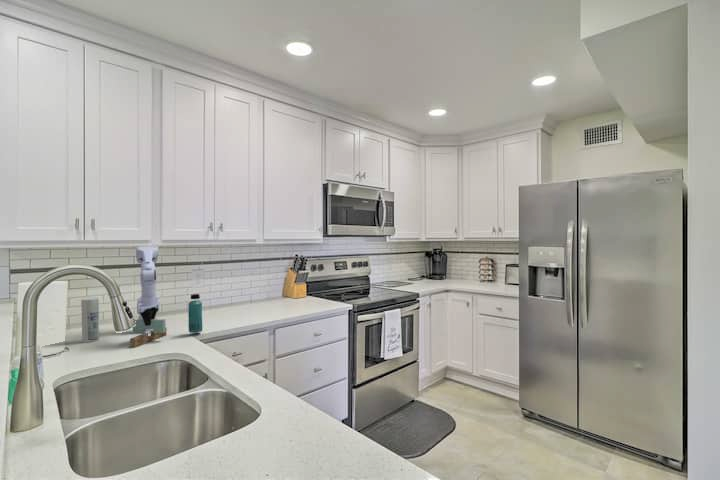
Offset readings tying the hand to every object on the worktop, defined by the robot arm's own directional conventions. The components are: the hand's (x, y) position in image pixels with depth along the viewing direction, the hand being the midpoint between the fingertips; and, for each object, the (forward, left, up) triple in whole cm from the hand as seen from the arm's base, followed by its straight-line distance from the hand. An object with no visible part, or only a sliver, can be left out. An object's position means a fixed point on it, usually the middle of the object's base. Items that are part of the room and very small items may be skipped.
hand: (149, 324), depth 169 cm
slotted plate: (0, 0, -4) cm, 4 cm away
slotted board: (0, 0, -8) cm, 8 cm away
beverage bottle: (+6, +19, -8) cm, 21 cm away
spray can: (-23, -17, -8) cm, 30 cm away
